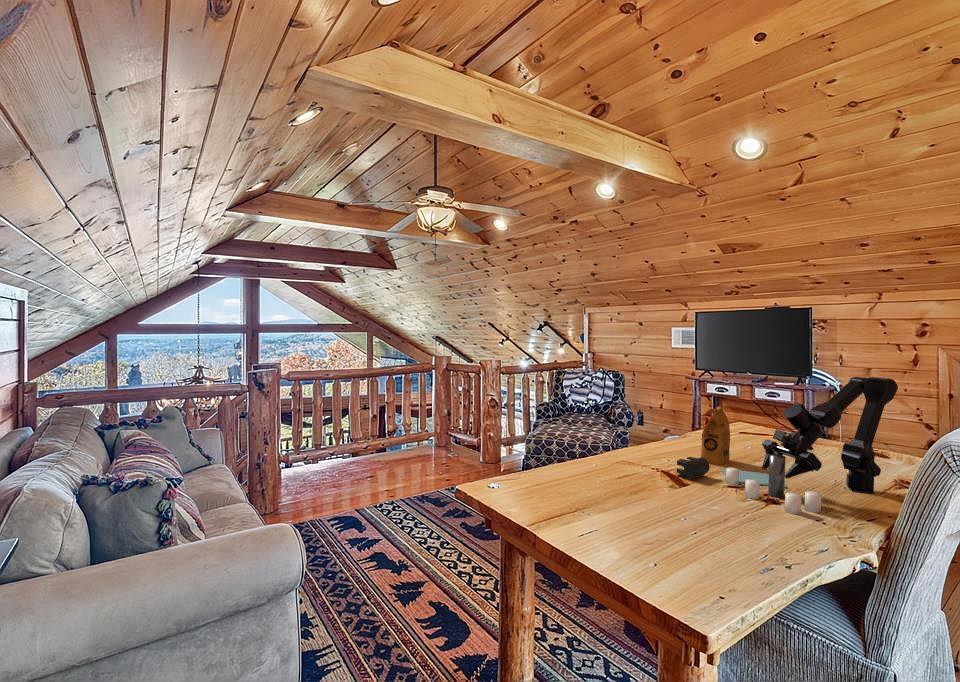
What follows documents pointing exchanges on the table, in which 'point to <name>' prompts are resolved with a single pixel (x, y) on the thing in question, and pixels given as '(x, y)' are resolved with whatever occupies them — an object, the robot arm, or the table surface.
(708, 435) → the coffee package
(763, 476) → the mat
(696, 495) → the table surface
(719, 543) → the table surface
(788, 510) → the spacers
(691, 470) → the end cap
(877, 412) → the robot arm
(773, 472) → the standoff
